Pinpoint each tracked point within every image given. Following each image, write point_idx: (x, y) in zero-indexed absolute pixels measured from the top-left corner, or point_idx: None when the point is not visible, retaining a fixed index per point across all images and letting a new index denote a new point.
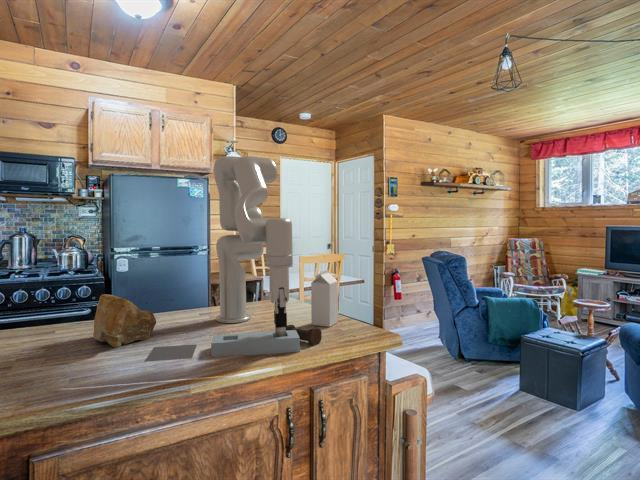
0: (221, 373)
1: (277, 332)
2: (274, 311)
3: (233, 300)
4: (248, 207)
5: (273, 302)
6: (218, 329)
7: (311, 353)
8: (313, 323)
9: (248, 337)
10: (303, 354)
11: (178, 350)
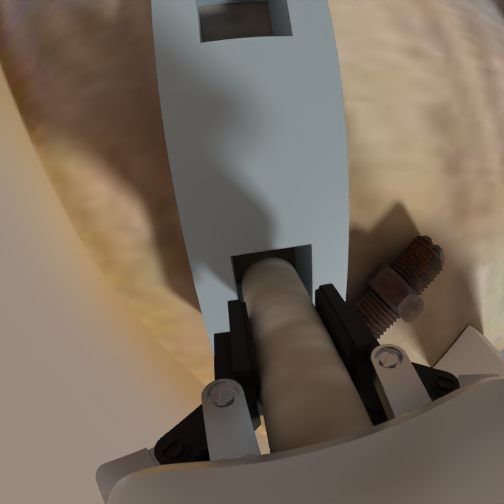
0: (11, 79)
1: (249, 284)
2: (355, 343)
3: None
4: None
5: (123, 479)
6: (497, 35)
7: (196, 354)
8: (467, 332)
9: (239, 100)
10: (185, 333)
11: None
